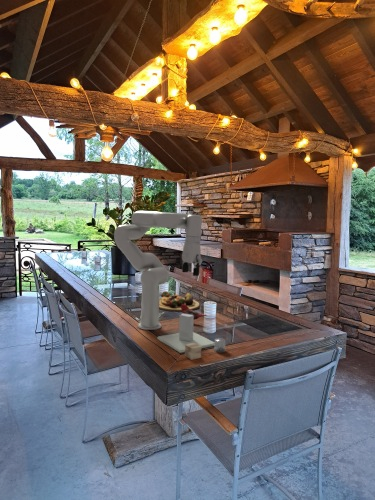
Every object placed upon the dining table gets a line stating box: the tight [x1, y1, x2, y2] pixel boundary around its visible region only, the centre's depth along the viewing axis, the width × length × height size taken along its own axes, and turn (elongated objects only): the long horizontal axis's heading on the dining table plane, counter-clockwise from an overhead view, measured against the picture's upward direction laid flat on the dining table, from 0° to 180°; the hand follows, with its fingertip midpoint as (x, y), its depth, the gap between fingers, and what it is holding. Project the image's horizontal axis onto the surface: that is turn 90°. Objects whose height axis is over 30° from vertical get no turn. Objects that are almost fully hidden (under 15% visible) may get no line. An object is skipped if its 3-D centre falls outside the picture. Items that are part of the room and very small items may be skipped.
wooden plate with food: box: [159, 290, 200, 313], centre depth 242 cm, size 32×32×8 cm
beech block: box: [184, 343, 202, 361], centre depth 154 cm, size 5×5×5 cm
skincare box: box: [178, 313, 195, 341], centre depth 171 cm, size 6×4×12 cm
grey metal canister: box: [213, 337, 227, 354], centre depth 163 cm, size 5×5×5 cm
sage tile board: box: [157, 331, 214, 354], centre depth 172 cm, size 20×20×1 cm
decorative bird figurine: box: [181, 304, 208, 320], centre depth 203 cm, size 3×18×10 cm, turn 59°
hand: (190, 273), depth 178 cm, fingers open, 9 cm apart
